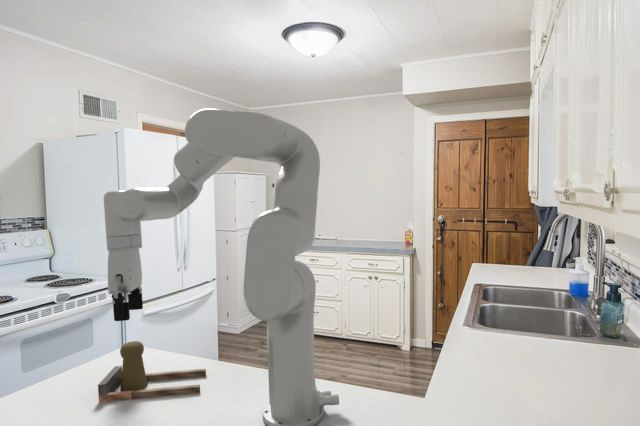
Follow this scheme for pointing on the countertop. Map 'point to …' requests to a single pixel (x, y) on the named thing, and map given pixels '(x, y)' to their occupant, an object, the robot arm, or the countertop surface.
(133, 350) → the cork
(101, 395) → the guide channel
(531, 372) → the countertop surface
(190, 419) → the countertop surface
